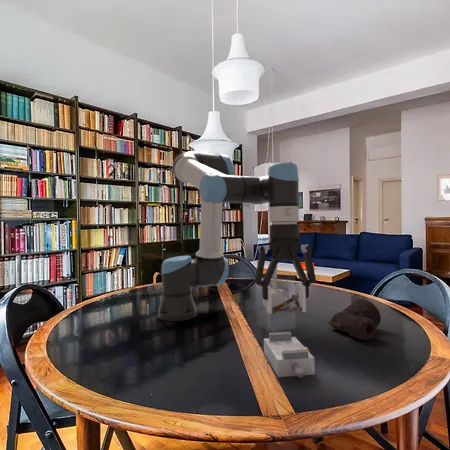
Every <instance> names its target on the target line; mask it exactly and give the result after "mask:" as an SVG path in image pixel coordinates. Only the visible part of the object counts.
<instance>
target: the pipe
mask: <svg viewBox="0 0 450 450" xmlns="http://www.w3.org/2000/svg"><path fill="white" fill-rule="evenodd" d="M381 318H382V316H381V313H380V310H379V309H378V308H377V306H376V305H375V304H374V303H373V302H371V301H369V300H368V299H365V298H364V299H362V298H361V299H359V298H358V299H356V300H354V301H352V303H351V304H349V305H348V306H347V307H346V308H345V309H343V310H342V311H339V312H336V313H335V314H333V316H332V317H331V319H330V320H329V321H328V325H330V326H331V327H332V328H334V329H336V330H339V331H340V332H344V333H347V334H349V336H351V337H353V338H356V339H357V340H360V341H371V340H373V339H374V337H375V335H376V333H377V331H378V330H377V329H378V326H379V325H380V323H381V322H382V321H381Z"/></svg>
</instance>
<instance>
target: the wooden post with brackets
mask: <svg viewBox="0 0 450 450" xmlns="http://www.w3.org/2000/svg"><path fill="white" fill-rule="evenodd" d="M298 300H299V294H292V295H291V296H290V298H289V299H287V300H286V301H284V302H282V304H280V305H277V306H275V307H272V314H273V315H275V316H276V315H277V312H278V311H279V310H281V309H280V308H282V307H285V306H286V305H287V306H288V305H290V303H291V304H292V303H293V304H295V305H296V306H294V307H293V306H292V308H289V310H288V311H287V312H288V313H289V314H290V313H291V314H293V313H294V312H296V310H297V309H298V310H299V311H301V310H302V308H301V306H300V305H299V301H298ZM301 312H302V311H301Z"/></svg>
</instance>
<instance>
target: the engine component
mask: <svg viewBox="0 0 450 450" xmlns="http://www.w3.org/2000/svg"><path fill="white" fill-rule="evenodd" d="M271 284H272V287H271V301H272V307H275V306H277V305H280V304H282V302H284V301H286V300H288V299H287V297H286V295H285V290H284V289H279V288H278V265H277V266H276V269H275V271H274V273H273V276H272V278H271ZM262 299H263V298H262ZM262 304H263V307H264V308H265V309H266V300H264V299H263V303H262ZM287 306H288V305H286V306H285V307H282V308H280V309H279V310H283V309H285V308H287Z"/></svg>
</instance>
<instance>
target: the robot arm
mask: <svg viewBox="0 0 450 450" xmlns="http://www.w3.org/2000/svg"><path fill="white" fill-rule="evenodd" d="M171 166H172V168H171V169H172V173H173V175H174V177H175V178H176V179H177V180H179V181H180V182H182V183H187V184H190V185H192V186H193V187H194V188H197V190H199V194H200V195H199V196H200V198H201V200H200V201H201V203H200V229H199V249H198V250H197V251H196V252H195V258H192V257H191V255H179V256H178V255H177V256H173V257H169V258H166V259H164V260H163V261H162V264H161V292H162V293H161V301H160V304H159V307H158V311H157V317H158V319H159V320H161V321H165V322H180V321H181V322H183V321H188V320H191V319H194V318H196V317H197V307H196V304H195V300H194V298H193V295H192V294H193V293H192V289H194V288H196V289H197V288H202V287H216V286H219V285H220V286H221V285H222V284H224V282H226V280H227V279H228V275H229V269H230V267H229V261H228V259H227V258H226V257H224V255H225V254H224V252H222V251H221V246H222V245H221V243H222V241H221V240H222V223H223V222H222V221H223V204H251V205H263V204H267V203H268V204H269V207H268V208H269V212H268V213H269V223H271V224H270V225H269V242H268V245H259V246H258V247H257V251H258V252H257V253H258V260H257V266H256V272H255V278H254V283H255V284H256V285H257V286H259V287H260V286H261V296H262V299H264V300H266V308H265V311H266V313H268V314H270V315H271V314H273V312H272V301H271V289H272V287H271V286H270V283H271V281H272V276H273V273H274V271H275V269H276V266H277V267H278V264H279V263H280V261H283V260H289V261H291V263H292V265H293V266H294V269H295V271H296V273H297V276H298V277H299V279H300V282H301V284H298V295H299V297H298V300H299V301H298V303H299V305H300V306H301V308H302V310H301V312H303V313H305V312H307V308H306V307H307V302H306V301H307V300H306V299H308V298H309V297H310V287H311V285H312V284H315V283H317V278H316V274H315V268H314V262H313V258H312V249H313V248H312V247H313V246H312V245H310V244H301V241H300V225H299V224H297V223H298V222H299V221H300V214H299V211H300V207H299V204H300V203H299V201H300V199H299V195H300V193H299V189H300V188H299V180H300V178H299V170H298V166H297V164H295V163H292V162H288V161H286V162H284V161H282V162H276V163H272V164H270V165H269V167H268V173H267V175H264V176H252V175H251V176H247V175H234V173H235V172H234V171H235V169H234V164H233V162H232V160H231V158H230V156H228V155H227V154H224V153H218V152H203V151H195V150H194V151H192V150H191V151H185V152H183V153H180V154H179V155H178V156H176V157H175V159H174V160H173V161H172V165H171ZM300 250H301V253H302V255H303V256H302V257H303V261H304V265H305V270H304V268H303V266H302V264H301V261H300V258H299V256H298V252H299V251H300ZM269 251H270V253H271V254H272V255H271V258H270V262H269V264H268V267H267V269H266V271H265V274H264V269H265V262H266V255H267V254H268V252H269ZM305 271H306V273H305ZM263 275H264V276H263Z"/></svg>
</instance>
